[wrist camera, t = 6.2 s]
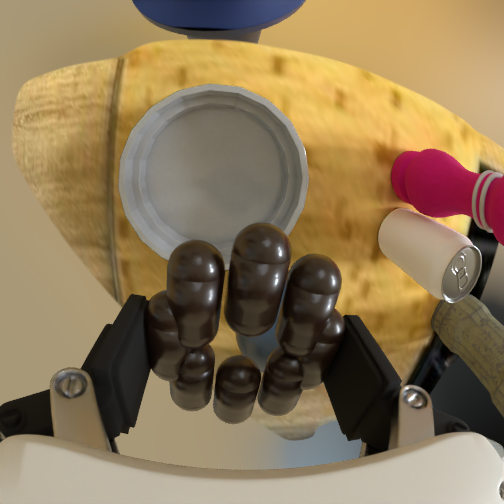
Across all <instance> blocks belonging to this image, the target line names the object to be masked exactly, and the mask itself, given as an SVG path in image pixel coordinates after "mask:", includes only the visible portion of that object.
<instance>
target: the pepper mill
mask: <svg viewBox="0 0 504 504" xmlns="http://www.w3.org/2000/svg"><path fill="white" fill-rule="evenodd" d="M391 181H392V186H393V189H394V191H395V193H396V195H397V196H398V197H399V198H400V199H401V200H402V201H404V202H406V203H409V204H411V205H413V206H414V208H415V209H416V210H418V211H419V212H420V213H422V214H424V215H427V216H430V217H435V218H440V217H448V216H453V215H458V214H465V215H467V216H470V217H472V218H474V220H475V222H476V224H477V225H478V226H479V227H480V228H482V229H485V230H486V231H488V232H491V233H492V232H493V233H494V235H495V237H496V239H497V240H498V242H499V243H501V244H502V245H503V246H504V175H502V174H501V173H498V172H493V171H485V172H483V173H482V174H477V173H474V172H471V171H469V170H467V169H465V168H464V167H463V166H462V165H461V164H460V163H459V162H458V161H457V160H456V159H455V158H453V157H452V156H450V155H449V154H447V153H445V152H443V151H440V150H436V149H426V150H423V151H421V152H417V151H407V152H404V153H402V154H401V155H400V156H399V157H398V158H397V159H396V161H395V163H394V165H393V168H392V174H391Z"/></svg>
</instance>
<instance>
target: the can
mask: <svg viewBox="0 0 504 504" xmlns="http://www.w3.org/2000/svg"><path fill="white" fill-rule="evenodd" d="M378 243H379V247H380V250H381V251H382V253H383V254H384V255H385V256H386V257H387V258H388V259H390V260H391V261H392V262H393V263H395V264H396V265H397V266H398V267H399V268H401V269H402V270H403V271H404V272H405V273H407V274H408V275H409V276H410V277H411V278H413V279H414V280H415V281H416V282H417V283H419V284H420V285H421V286H422V287H423V288H424V289H426V290H427V291H428V292H429V293H430V294H431V295H433V296H434V297H436V298H438V299H442V300H445V301H446V302H448V303H457V302H459V301H461V300H462V299H464V298H465V297H466V296H467V295H468V294H469V293H470V291H471V290H472V289H473V287H474V285H475V284H476V282H477V279H478V277H479V274H480V270H481V263H482V260H481V254H480V251H479V249H478V248H477V247H475V246H473V244H472V242H471V241H470V240H469V239H468V238H467V237H466V236H464V235H463V234H461V233H459V232H457V231H455V230H453V229H451V228H449V227H447V226H445V225H443V224H441V223H439V222H437V221H435V220H432V219H430V218H428V217H426V216H424V215H421V214H419V213H417V212H414V211H412V210H410V209H406V208H399V209H395V210H393V211H392V212H391V213H389V214H388V215H387V217H386V218H385V219H384V221H383V222H382V224H381V226H380V229H379V234H378Z"/></svg>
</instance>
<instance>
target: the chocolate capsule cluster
mask: <svg viewBox="0 0 504 504" xmlns="http://www.w3.org/2000/svg"><path fill="white" fill-rule="evenodd" d="M290 259H291V246H290V242H289V239H288V238H287V236H286V234H285V233H284V232H283V231H282V230H281V229H280V228H278V227H277V226H275V225H273V224H270V223H265V222H257V223H253V224H250V225H248V226H246V227H244V228H243V229H242V230H241V231H240V232H239V233H238V234H237V236H236V237H235V239H234V242H233V245H232V250H231V257H230V265H229V273H228V280H227V288H226V296H225V304H224V316H225V320H226V322H227V324H228V325H229V327H230V328H231V329H232V330H233V331H234V332H236V333H237V334H239V335H242V336H245V337H257V336H260V335H262V334H264V333H266V332H267V331H269V330H270V329H271V328H272V326H273V325H274V323H275V321H276V319H277V316H278V312H279V307H280V303H281V299H282V295H283V290H284V286H285V282H286V277H287V273H288V268H289V264H290ZM224 276H225V264H224V259H223V257H222V255H221V253H220V252H219V250H218V249H217V248H216V247H215V246H214V245H212V244H211V243H209V242H207V241H204V240H198V239H194V240H189V241H185V242H183V243H182V244H180V245H178V246H177V247H176V248H175V249H174V250H173V252H172V253H171V255H170V257H169V260H168V265H167V290H164V291H161V292H159V293H157V294H155V295H154V296H153V297H152V298H151V299H150V300H149V302H148V303H147V306H146V312H145V324H146V337H147V348H148V357H149V364H150V367H151V369H152V371H153V372H154V373H155V374H156V375H157V376H158V377H159V378H161V379H163V380H166V381H169V382H170V393H171V397H172V399H173V401H174V403H175V404H176V405H177V406H179V407H180V408H182V409H183V410H186V411H198V410H200V409H202V408H204V407H205V406H206V405H207V404H208V403H209V401H210V399H211V395H212V385H213V375H214V365H215V355H214V352H213V349H212V348H211V346H210V345H209V343H210V342H211V341H212V340H213V339H214V338H215V336H216V334H217V331H218V327H219V318H220V310H221V301H222V293H223V284H224ZM341 284H342V278H341V273H340V270H339V268H338V266H337V265H336V264H335V263H334V261H332V260H331V259H330V258H328V257H326V256H324V255H320V254H309V255H306V256H303V257H301V258H300V259H298V260H297V261H296V262H295V263H294V264H293V266H292V267H291V269H290V271H289V274H288V278H287V282H286V286H285V291H284V295H283V299H282V303H281V308H280V312H279V316H278V320H277V324H276V328H275V337H276V341H277V343H278V345H279V346H278V347H277V348H275V349H274V350H273V351H272V352H271V354H270V355H269V357H268V359H267V363H266V366H265V370H264V374H263V377H262V381H261V373H260V369H259V367H258V365H257V364H256V363H255V362H254V361H253V360H252V359H250V358H248V357H246V356H241V355H236V356H231V357H229V358H227V359H225V360H224V361H223V362H222V363H221V364H220V365H219V367H218V369H217V373H216V382H215V391H214V401H213V402H214V403H213V408H214V412H215V414H216V415H217V417H218V418H219V419H220V420H222V421H224V422H225V423H228V424H237V423H241V422H244V421H245V420H246V419H247V418H248V417H249V416H250V415H251V413H252V410H253V407H254V403H255V400H256V396H257V393H258V403H259V405H260V407H261V408H262V410H263V411H264V412H266V413H268V414H270V415H273V416H281V415H285V414H287V413H289V412H290V411H292V410H293V409H294V407H295V406H296V404H297V402H298V400H299V397H300V395H301V393H302V391H303V390H308V389H313V388H315V387H317V386H319V385H320V384H321V383H322V382H323V381H324V379H325V378H326V376H327V374H328V372H329V370H330V367H331V365H332V363H333V361H334V358H335V356H336V354H337V352H338V349H339V347H340V344H341V342H342V340H343V337H344V334H345V322H344V319H343V317H342V315H341V314H340V313H339V312H338V311H337V310H336V309H335V305H336V302H337V299H338V296H339V292H340V289H341ZM260 381H261V385H260ZM259 385H260V388H259ZM258 389H259V392H258Z"/></svg>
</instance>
